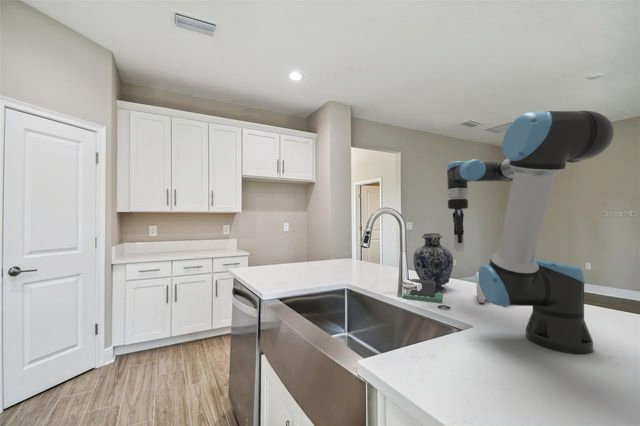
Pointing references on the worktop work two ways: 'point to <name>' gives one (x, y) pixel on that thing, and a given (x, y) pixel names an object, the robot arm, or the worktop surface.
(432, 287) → the plug housing
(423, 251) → the decorative vase
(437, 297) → the header board
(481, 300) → the cable organizer
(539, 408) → the worktop surface
